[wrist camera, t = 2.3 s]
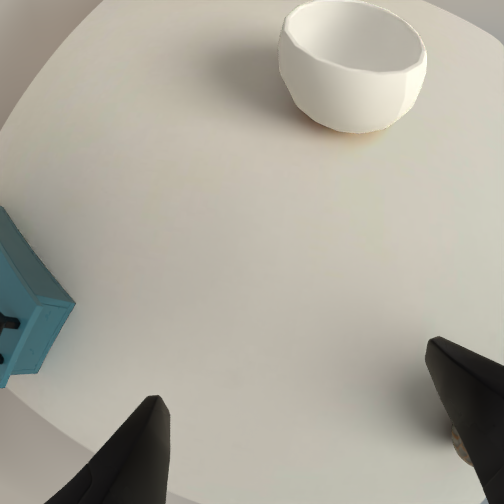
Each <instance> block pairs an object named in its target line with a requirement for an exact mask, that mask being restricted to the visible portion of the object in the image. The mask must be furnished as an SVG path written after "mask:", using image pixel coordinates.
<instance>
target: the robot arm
mask: <svg viewBox="0 0 504 504" xmlns="http://www.w3.org/2000/svg"><path fill="white" fill-rule="evenodd" d="M425 362H426V365H427V367H428V370H429V372H430V375H431V377H432V380H433V382H434V385H435V387H436V390H437V392H438V395H439V397H440V399H441V401H442V403H443V405H444V407H445V409H446V411H447V413H448V415H449V417H450V419H451V421H452V423H453V425H454V427H455V429H456V431H457V433H458V435H459V437H460V439H461V441H462V443H463V445H464V447H465V449H466V451H467V453H468V456H469V458H470V460H471V462H472V464H473V467H474V469H475V471H476V473H477V476H478V478H479V480H480V483H481V485H482V487H483V490H484V493H485V495H486V498H487V500H488V503H489V504H504V366H503V365H501V364H499V363H496V362H494V361H492V360H490V359H488V358H486V357H484V356H481V355H479V354H477V353H475V352H473V351H471V350H468V349H466V348H464V347H462V346H460V345H458V344H455V343H453V342H451V341H449V340H447V339H445V338H443V337H440V336H438V337H435V338H432V339H430V340H429V341H428V344H427V349H426V355H425ZM169 462H170V413H169V410H168V408H167V407H166V405H165V403H164V401H163V400H162V398H161V397H160V396H159V395H153V396H148V397H146V398H145V399H144V401H143V402H142V403H141V404H140V405H139V406H138V407H137V408H136V410H135V411H134V412H133V413H132V414H131V415H130V416H129V417H128V419H127V420H126V421H125V422H124V423H123V424H122V425H121V426H120V428H119V429H118V430H117V431H116V432H115V433H114V434H113V435H112V436H111V438H110V439H109V440H108V441H107V442H106V443H105V444H104V445H103V446H102V448H101V449H100V450H99V451H98V452H97V453H96V454H95V455H94V456H93V458H92V459H91V460H90V461H89V463H88V464H86V465H85V466H84V467H83V468H82V470H80V471H79V473H78V474H77V475H76V476H75V477H74V478H73V479H72V480H71V481H69V482H68V483H67V484H66V485H65V486H64V487H63V488H62V489H61V490H59V491H58V492H57V493H56V494H55V495H54V496H52V497H51V498H50V499H49V500H48V501H47V502H45V503H44V504H165V503H166V492H167V481H168V471H169Z"/></svg>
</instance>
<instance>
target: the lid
mask: <svg viewBox="0 0 504 504" xmlns="http://www.w3.org/2000/svg"><path fill="white" fill-rule="evenodd" d="M42 308H43V305H42V304H41V303H40V301H39V300H38V299H37V297H36V296H35V295H34V293H33V292H32V290H31V289H30V288H29V286H28V285H27V283H26V282H25V280H24V279H23V277H22V276H21V274H20V273H19V271H18V270H17V268H16V267H15V265H14V264H13V262H12V261H11V259H10V257H9V256H8V254H7V253H6V251H5V249H4V248H3V246H2V244H1V243H0V388H5V386H6V384H7V382H8V379H9V377H10V374H11V372H12V370H13V367H14V365H15V363H16V361H17V359H18V356H19V354H20V352H21V350H22V348H23V346H24V344H25V341H26V339H27V337H28V335H29V333H30V331H31V329H32V327H33V325H34V324H35V322H36V320H37V318H38V316H39V314H40V312H41V310H42Z"/></svg>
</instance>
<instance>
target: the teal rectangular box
mask: <svg viewBox="0 0 504 504" xmlns="http://www.w3.org/2000/svg"><path fill="white" fill-rule="evenodd" d="M0 243H1V244H2V246H3V248H4V249H5V251H6V253H7V254H8V256H9V257H10V259H11V261H12V262H13V264H14V265H15V267H16V268H17V270H18V271H19V273H20V274H21V276H22V277H23V279H24V280H25V282H26V283H27V285H28V286H29V288H30V289H31V290H32V292H33V293H34V295H35V296H36V297H37V299H38V300H39V301H40V303H41V304H42V305H43V308H42V310H41V312H40V314H39V316H38V318H37V320H36V322H35V324H34V325H33V327H32V329H31V331H30V333H29V335H28V337H27V339H26V341H25V344H24V346H23V348H22V350H21V352H20V354H19V356H18V359H17V361H16V363H15V365H14V367H13V370H12V372H11V374H10V375H17V374H36V373H38V371H39V369H40V367H41V365H42V363H43V361H44V359H45V357H46V355H47V353H48V351H49V350H50V348H51V346H52V344H53V342H54V340H55V339H56V337H57V335H58V333H59V331H60V330H61V328H62V326H63V324H64V323H65V321H66V319H67V317H68V316H69V314H70V312H71V311H72V309H73V307H74V306H75V304H76V303H75V302H74V301H73V300H72V298H71V297H70V296H69V295H68V294H67V293H66V291H65V290H64V289H63V288H62V287H61V286H60V284H59V283H58V282H57V281H56V279H55V278H54V277H53V276H52V275H51V273H50V272H49V271H48V270H47V268H46V267H45V266H44V264H43V263H42V262H41V261H40V259H39V258H38V257H37V255H36V254H35V253H34V251H33V250H32V249H31V247H30V246H29V245H28V243H27V242H26V240H25V239H24V238H23V236H22V235H21V233H20V232H19V231H18V229H17V228H16V226H15V225H14V223H13V222H12V220H11V219H10V217H9V216H8V214H7V213H6V211H5V210H4V208H3V207H2V206H0Z"/></svg>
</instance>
